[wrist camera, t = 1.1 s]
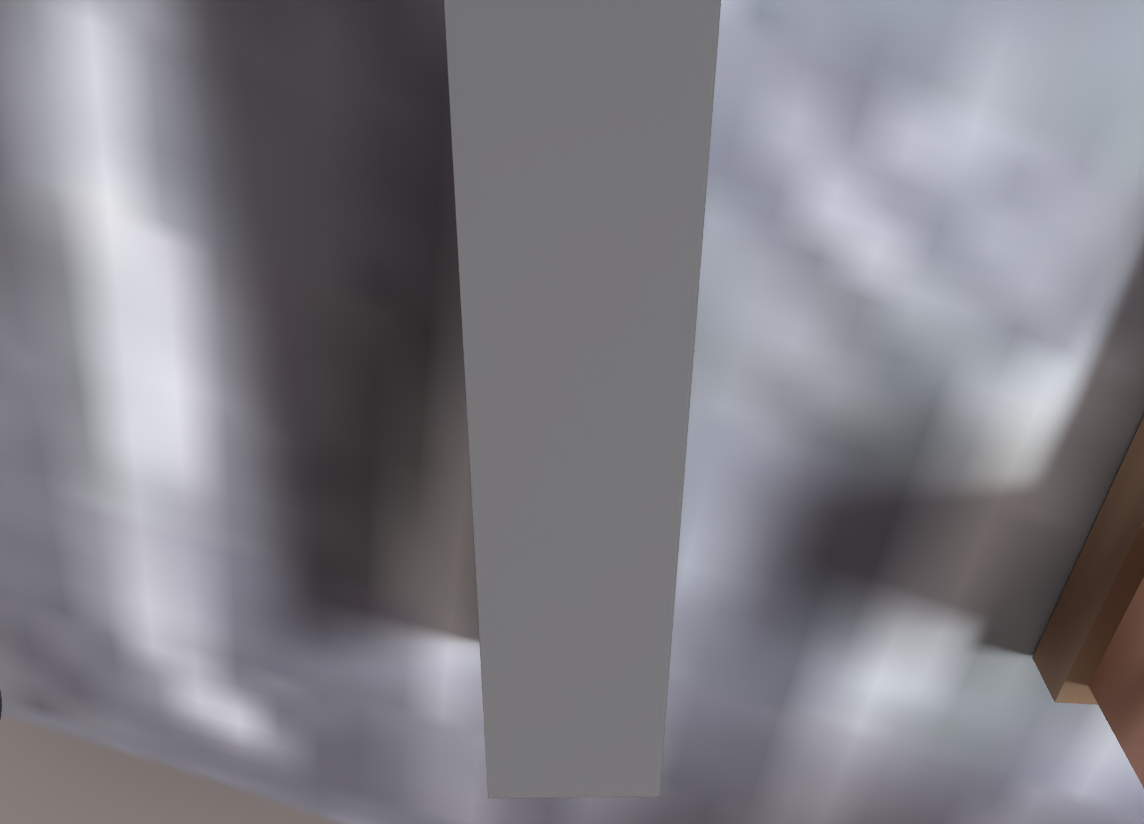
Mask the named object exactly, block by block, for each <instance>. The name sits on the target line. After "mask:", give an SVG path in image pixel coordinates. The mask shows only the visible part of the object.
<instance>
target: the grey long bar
mask: <svg viewBox="0 0 1144 824" xmlns="http://www.w3.org/2000/svg"><path fill="white" fill-rule="evenodd" d="M720 7H721V0H444V9H445V27H446V45H447V63H448V81H449V99H450V117H451V135H452V153H453V171H454V189H455V207H456V225H457V243H458V261H459V279H460V297H461V315H462V333H463V351H464V369H465V387H466V405H467V423H468V441H469V459H470V478H471V496H472V514H473V532H474V550H475V568H476V586H477V604H478V622H479V640H480V658H481V676H482V694H483V712H484V730H485V748H486V766H487V784H488V798H556V797H654V796H660V783H661V770H662V757H663V744H664V731H665V718H666V705H667V692H668V679H669V666H670V653H671V641H672V628H673V615H674V602H675V589H676V576H677V563H678V550H679V537H680V524H681V511H682V498H683V485H684V473H685V460H686V447H687V434H688V421H689V408H690V395H691V382H692V369H693V356H694V343H695V330H696V317H697V305H698V292H699V279H700V266H701V253H702V240H703V227H704V214H705V201H706V188H707V175H708V162H709V149H710V137H711V124H712V111H713V98H714V85H715V72H716V59H717V46H718V33H719V20H720Z"/></svg>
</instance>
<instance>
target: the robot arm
mask: <svg viewBox="0 0 1144 824" xmlns="http://www.w3.org/2000/svg"><path fill="white" fill-rule="evenodd" d="M1 711H2V697H1V691H0V718H1Z"/></svg>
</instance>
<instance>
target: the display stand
mask: <svg viewBox="0 0 1144 824" xmlns="http://www.w3.org/2000/svg"><path fill="white" fill-rule="evenodd" d="M1032 658H1033V660H1034V662H1035V664H1036V666H1037V668H1038V670H1039V672H1040V674H1041V676H1042V678H1043V680H1044V682H1045V684H1046V686H1047V688H1048V690H1049V692H1050V694H1051V696H1052V698H1053V700H1054V702H1062V703H1079V704H1096V705H1099V707H1100V709H1101V710H1102V712H1103V714H1104V716H1105V718H1106V720H1107V721H1108V723H1109V725H1110V727H1111V729H1112V731H1113V732H1114V734H1115V736H1116V738H1117V740H1118V742H1119V743H1120V745H1121V747H1122V749H1123V751H1124V753H1125V754H1126V756H1127V758H1128V760H1129V762H1130V764H1131V765H1132V767H1133V769H1134V771H1135V773H1136V775H1137V776H1138V778H1139V780H1140V782H1141V784H1142V786H1143V787H1144V416H1143V419H1142V421H1141V423H1140V425H1139V427H1138V429H1137V432H1136V434H1135V436H1134V438H1133V440H1132V442H1131V445H1130V447H1129V449H1128V451H1127V453H1126V455H1125V458H1124V460H1123V462H1122V464H1121V466H1120V468H1119V471H1118V473H1117V475H1116V477H1115V479H1114V481H1113V484H1112V486H1111V488H1110V490H1109V492H1108V494H1107V497H1106V499H1105V501H1104V503H1103V505H1102V507H1101V510H1100V512H1099V514H1098V516H1097V518H1096V521H1095V523H1094V525H1093V527H1092V529H1091V531H1090V534H1089V536H1088V538H1087V540H1086V542H1085V544H1084V547H1083V549H1082V551H1081V553H1080V555H1079V557H1078V560H1077V562H1076V564H1075V566H1074V568H1073V570H1072V573H1071V575H1070V577H1069V579H1068V581H1067V583H1066V586H1065V588H1064V590H1063V592H1062V594H1061V596H1060V599H1059V601H1058V603H1057V605H1056V607H1055V610H1054V612H1053V614H1052V616H1051V618H1050V620H1049V623H1048V625H1047V627H1046V629H1045V631H1044V633H1043V636H1042V638H1041V640H1040V642H1039V644H1038V646H1037V649H1036V651H1035V653H1034V655H1033V657H1032Z"/></svg>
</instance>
